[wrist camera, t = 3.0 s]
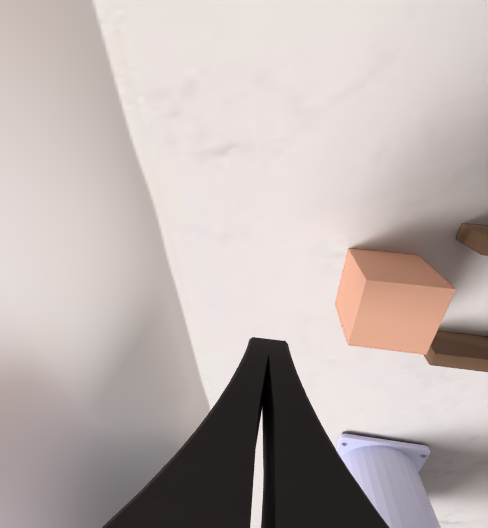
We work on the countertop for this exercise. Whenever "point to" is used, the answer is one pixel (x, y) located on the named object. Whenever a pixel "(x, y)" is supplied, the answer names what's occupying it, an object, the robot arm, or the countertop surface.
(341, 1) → the countertop surface
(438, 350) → the walnut bay
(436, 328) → the terracotta block
